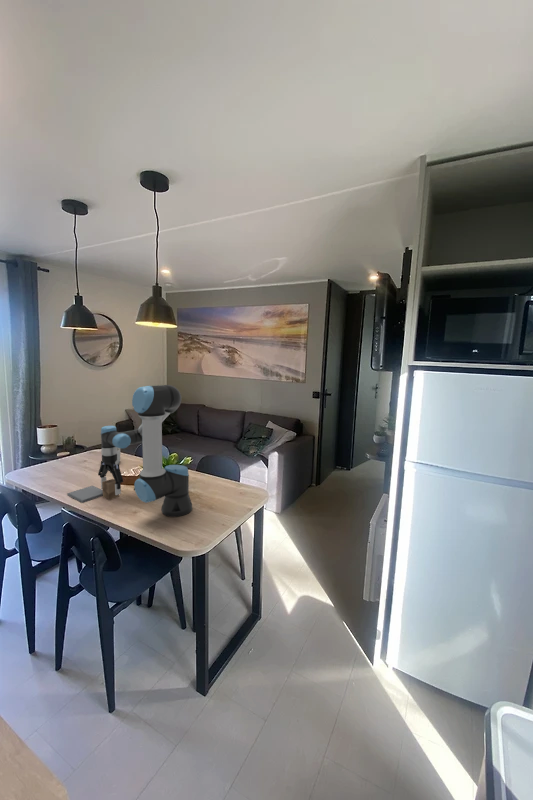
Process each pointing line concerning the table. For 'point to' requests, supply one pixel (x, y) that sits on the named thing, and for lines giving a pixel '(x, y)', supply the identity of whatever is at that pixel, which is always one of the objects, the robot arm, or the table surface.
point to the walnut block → (109, 489)
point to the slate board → (86, 494)
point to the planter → (117, 456)
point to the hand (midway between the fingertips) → (110, 491)
